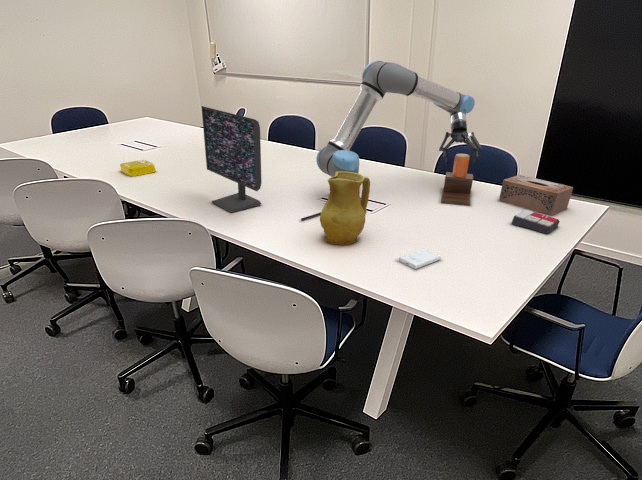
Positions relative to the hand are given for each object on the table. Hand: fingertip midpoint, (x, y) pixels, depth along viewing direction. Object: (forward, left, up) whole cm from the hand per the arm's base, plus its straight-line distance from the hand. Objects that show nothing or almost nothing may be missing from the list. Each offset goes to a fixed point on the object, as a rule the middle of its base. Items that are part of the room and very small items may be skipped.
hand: (461, 163), depth 216 cm
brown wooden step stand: (-8, 0, -14) cm, 16 cm away
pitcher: (-73, +40, -15) cm, 85 cm away
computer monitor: (-49, +98, -14) cm, 110 cm away
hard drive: (-84, +10, -15) cm, 86 cm away
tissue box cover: (-9, -35, -14) cm, 39 cm away
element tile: (-15, +174, -14) cm, 176 cm away
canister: (0, 0, -6) cm, 6 cm away
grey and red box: (-37, -33, -14) cm, 52 cm away
